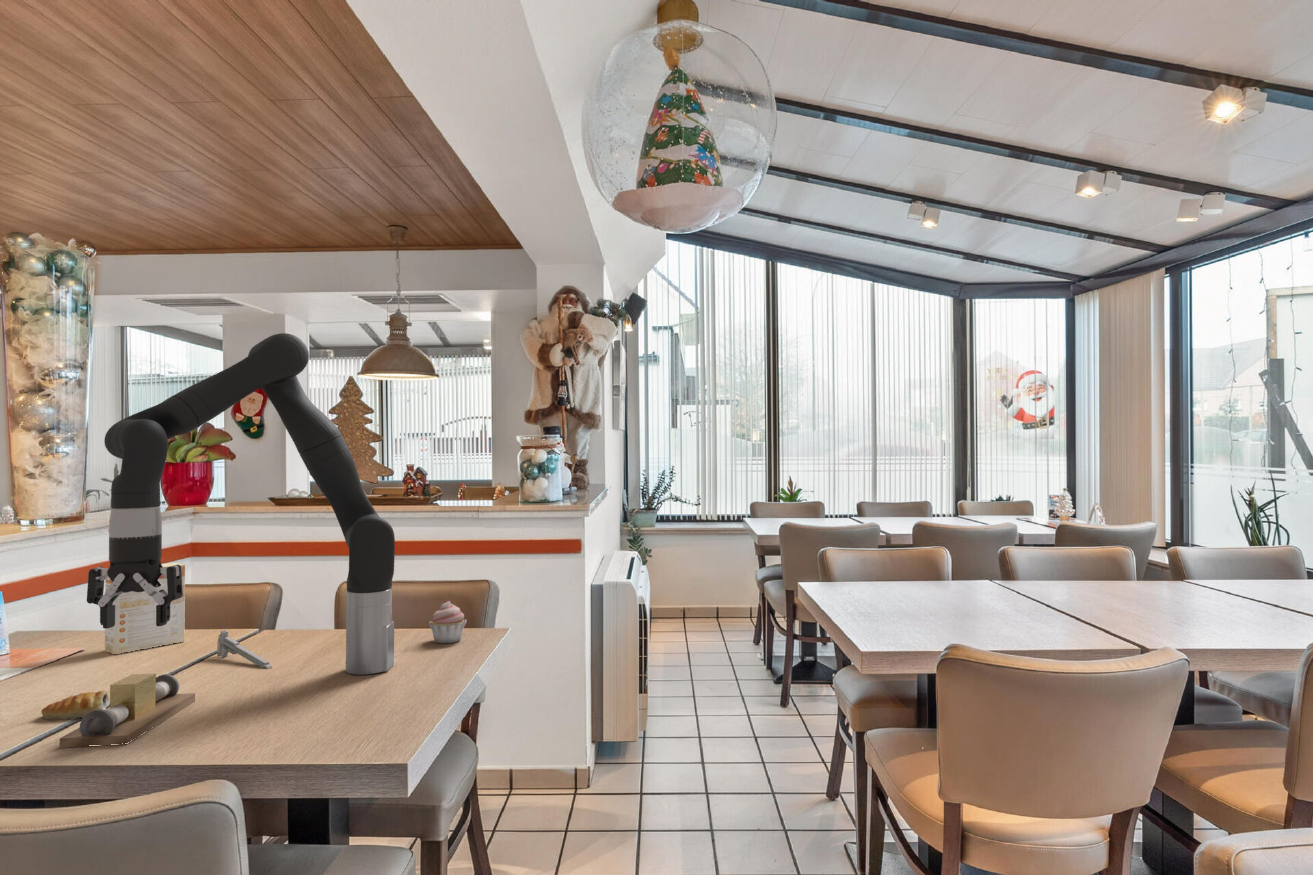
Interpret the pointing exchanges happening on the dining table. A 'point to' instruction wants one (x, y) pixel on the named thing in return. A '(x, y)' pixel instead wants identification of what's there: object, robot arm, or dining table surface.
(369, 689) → the dining table surface
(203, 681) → the dining table surface
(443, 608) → the cupcake
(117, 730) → the shaft mount
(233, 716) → the dining table surface
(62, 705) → the pastry
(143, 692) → the coupler
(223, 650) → the caliper
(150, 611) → the coffeecake box
